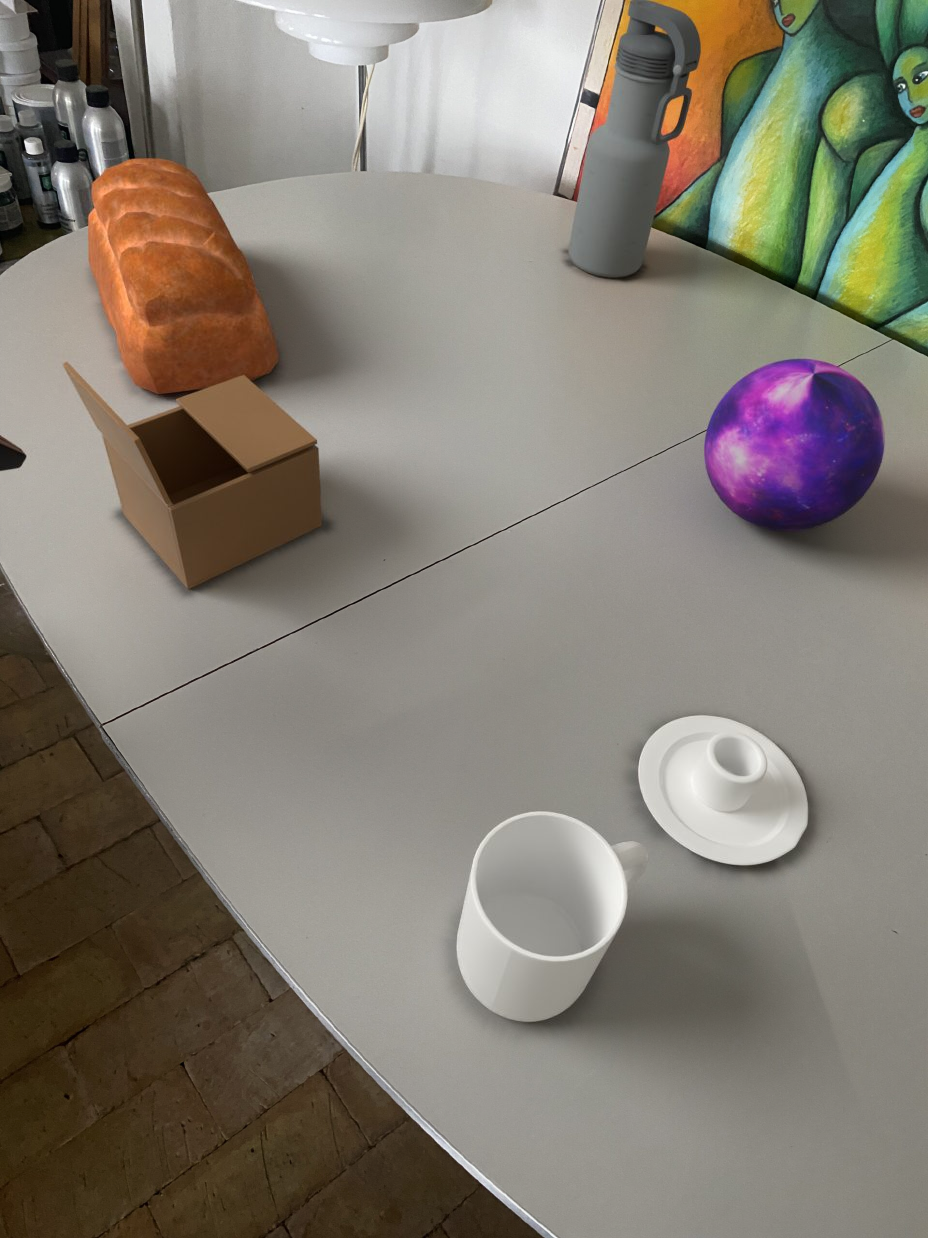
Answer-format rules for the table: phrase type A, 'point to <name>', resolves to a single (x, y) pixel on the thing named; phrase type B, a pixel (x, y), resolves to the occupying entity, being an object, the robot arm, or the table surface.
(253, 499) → the carton
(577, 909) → the mug
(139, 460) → the flap
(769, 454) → the decorative orb
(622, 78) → the water bottle
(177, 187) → the bread
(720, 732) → the candle holder
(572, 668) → the table surface
